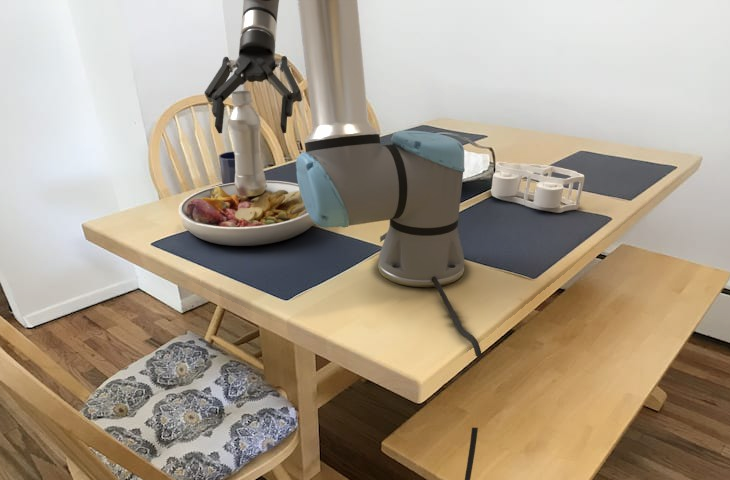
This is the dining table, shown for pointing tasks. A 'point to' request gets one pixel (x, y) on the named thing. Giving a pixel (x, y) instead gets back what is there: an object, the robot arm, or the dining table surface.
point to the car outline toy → (546, 189)
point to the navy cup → (227, 167)
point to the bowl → (246, 214)
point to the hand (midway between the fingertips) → (250, 129)
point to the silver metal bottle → (246, 145)
